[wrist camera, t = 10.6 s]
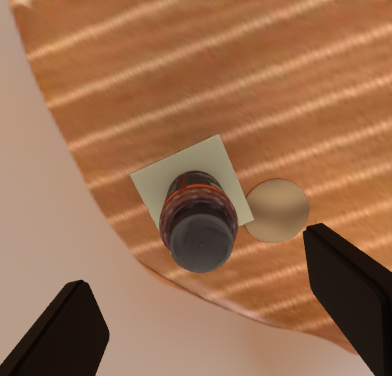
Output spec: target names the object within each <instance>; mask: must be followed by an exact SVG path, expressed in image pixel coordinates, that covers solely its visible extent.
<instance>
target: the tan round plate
mask: <svg viewBox="0 0 392 376" xmlns="http://www.w3.org/2000/svg"><path fill="white" fill-rule="evenodd" d="M246 201H247V203H248V206H249V208H250V210H251V213H252V215H253V218H254V220H253V221H250V222H248V223H245V224H244V225H245V227H246V228H247V230H248V231H249V233H250V234H251V235H252V236H254V237H255V238H256V239H258V240H260V241H263V242H267V243H279V242H283V241H286V240H289V239H291V238H292V237H294V236H295V235H296V234H298V233H299V232H300V231H301V229H302V228H303V227H304V225H305V223H306V221H307V218H308V215H309V202H308V199H307V196H306V194H305V193H304V191H303V190H302V189H301V188H300V187H299V186H298V185H296V184H294V183H292V182H290V181H287V180H284V179H271V180H267V181H264V182H262V183H260V184H259V185H257V186H256V187H254V188H253V189H252V190H251V191H250V192H249V194H248V195H247V197H246Z"/></svg>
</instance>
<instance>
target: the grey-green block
mask: <svg viewBox="0 0 392 376" xmlns="http://www.w3.org/2000/svg"><path fill="white" fill-rule="evenodd" d="M194 170H198V171H203V172H206V173H208V174H210V175H211V176H213V177H214V178H215V179H216V180H217V181H218V183H219V184H220V186H221V187H222V189H223V190H224V192H225V193H226V195H227V196H228V198H229V199H230V201H231V202H232V204H233V206H234V208H235V210H236V213H237V217H238V226H241V225H243V224H245V223H248V222H250V221H253V220H254V218H253V215H252V213H251V210H250V208H249V206H248V203H247V201H246V198H245V196H244V193H243V191H242V189H241V186H240V184H239V181H238V179H237V176H236V174H235V171H234V169H233V167H232V164H231V162H230V159H229V157H228V154H227V152H226V150H225V147H224V145H223V142H222V140H221V137H220V135H219V134H217V135H214V136H212V137H210V138H208V139H206V140H203V141H201V142H199V143H197V144H195V145H192V146H190V147H188V148H186V149H184V150H182V151H179V152H177V153H175V154H173V155H171V156H168V157H166V158H164V159H162V160H160V161H157V162H155V163H153V164H151V165H149V166H146V167H144V168H142V169H140V170H138V171H135V172H133V173H131V174H129V175H130V177H131V179H132V181H133V182H134V184H135V186H136V188H137V190H138V192H139V194H140V196H141V198H142V200H143V202H144V203H145V205H146V207H147V209H148V211H149V213H150V215H151V217H152V219H153V221H154V223H155V224H156V226H157V228H158V230H159V219H160V214H161V211H162V208H163V205H164V202H165V199H166V196H167V192H168V190H169V187H170V185H171V184H172V182H173V181H174V180H175V179H176V178H177V177H178V176H179V175H181V174H183V173H185V172H188V171H194ZM159 232H160V231H159ZM170 253H171V252H170Z"/></svg>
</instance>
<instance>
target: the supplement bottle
mask: <svg viewBox="0 0 392 376" xmlns="http://www.w3.org/2000/svg"><path fill="white" fill-rule="evenodd" d="M159 231H160V235H161V238H162V241H163V243H164V245H165V246H166V247H167V249H168V250H169V251H170V252H171V255H172V257H173V258H174V260H175V261H176V263H177V264H178V265H180V266H181V267H183V268H184V269H186V270H188V271H191V272H196V273H204V272H210V271H213V270H215V269H217V268H219V267H220V266H222V265H223V264H224V263H225V262H226V261H227V259H228V258H229V257H230V254H231V252H232V248H233V243H234V241H235V239H236V236H237V233H238V217H237V213H236V210H235V208H234V206H233V204H232V202H231V201H230V199H229V198H228V196H227V195H226V193H225V192H224V190H223V189H222V187H221V186H220V184H219V183H218V181H217V180H216V179H215V178H214V177H213V176H211V175H210V174H208V173H206V172H203V171H198V170H194V171H188V172H185V173H183V174H181V175H179V176H178V177H177V178H176V179H175V180H174V181H173V182H172V184H171V185H170V187H169V190H168V192H167V196H166V199H165V202H164V205H163V208H162V211H161V214H160V219H159Z"/></svg>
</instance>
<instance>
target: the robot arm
mask: <svg viewBox="0 0 392 376" xmlns="http://www.w3.org/2000/svg"><path fill="white" fill-rule="evenodd" d="M303 238H304V245H305V252H306V260H307V267H308V274H309V281H310V287H311V290H312V292H313V294H314V295H315V296H316V298H317V299H318V300H319V302H320V303H321V304H322V306H323V307H324V308H325V310H326V311H327V312H328V314H329V315H330V316H331V318H332V319H333V320H334V322H335V323H336V324H337V326H338V327H339V328H340V330H341V331H342V332H343V334H344V335H345V336H346V338H347V339H348V340H349V342H350V343H351V344H352V346H353V347H354V348H355V350H356V351H357V352H358V354H359V355H360V356H361V358H362V359H363V360H364V362H365V363H366V364H367V366H368V367H369V368H370V370H371V371H372V372H373V374H374V375H375V376H392V272H391V271H389V270H388V269H387V268H385V267H384V266H382V265H381V264H380V263H378V262H377V261H375V260H374V259H372V258H371V257H370V256H368V255H367V254H365V253H364V252H363V251H361V250H360V249H358V248H357V247H355V246H354V245H353V244H351V243H350V242H348V241H347V240H346V239H344V238H343V237H341V236H340V235H339V234H337V233H336V232H334V231H333V230H331V229H330V228H329V227H327V226H326V225H324V224H323V223H319V224H315V225H310V226H307V228H306V230H305V231H303ZM108 341H109V329H108V327H107V325H106V323H105V320H104V318H103V316H102V314H101V311H100V309H99V307H98V305H97V302H96V300H95V298H94V295H93V293H92V290H91V288H90V286H89V284H88V283H87V282H84V281H83V280H77V281H74V282H69V283H67V284H66V285H65V286H64V287H63V288H62V290H61V291H60V292H59V293H58V295H57V296H56V297H55V298H54V300H53V301H52V302H51V303H50V304H49V306H48V307H47V308H46V310H45V311H44V312H43V313H42V314H41V316H40V317H39V318H38V319H37V321H36V322H35V323H34V324H33V326H32V327H31V328H30V329H29V331H28V332H27V333H26V334H25V335H24V337H23V338H22V339H21V341H20V342H19V343H18V344H17V345H16V347H15V348H14V349H13V350H12V352H11V353H10V354H9V355H8V357H7V358H6V359H5V360H4V361H3V363H2V364H1V365H0V376H95V375H96V372H97V369H98V367H99V364H100V362H101V359H102V357H103V354H104V351H105V349H106V346H107V343H108Z"/></svg>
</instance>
